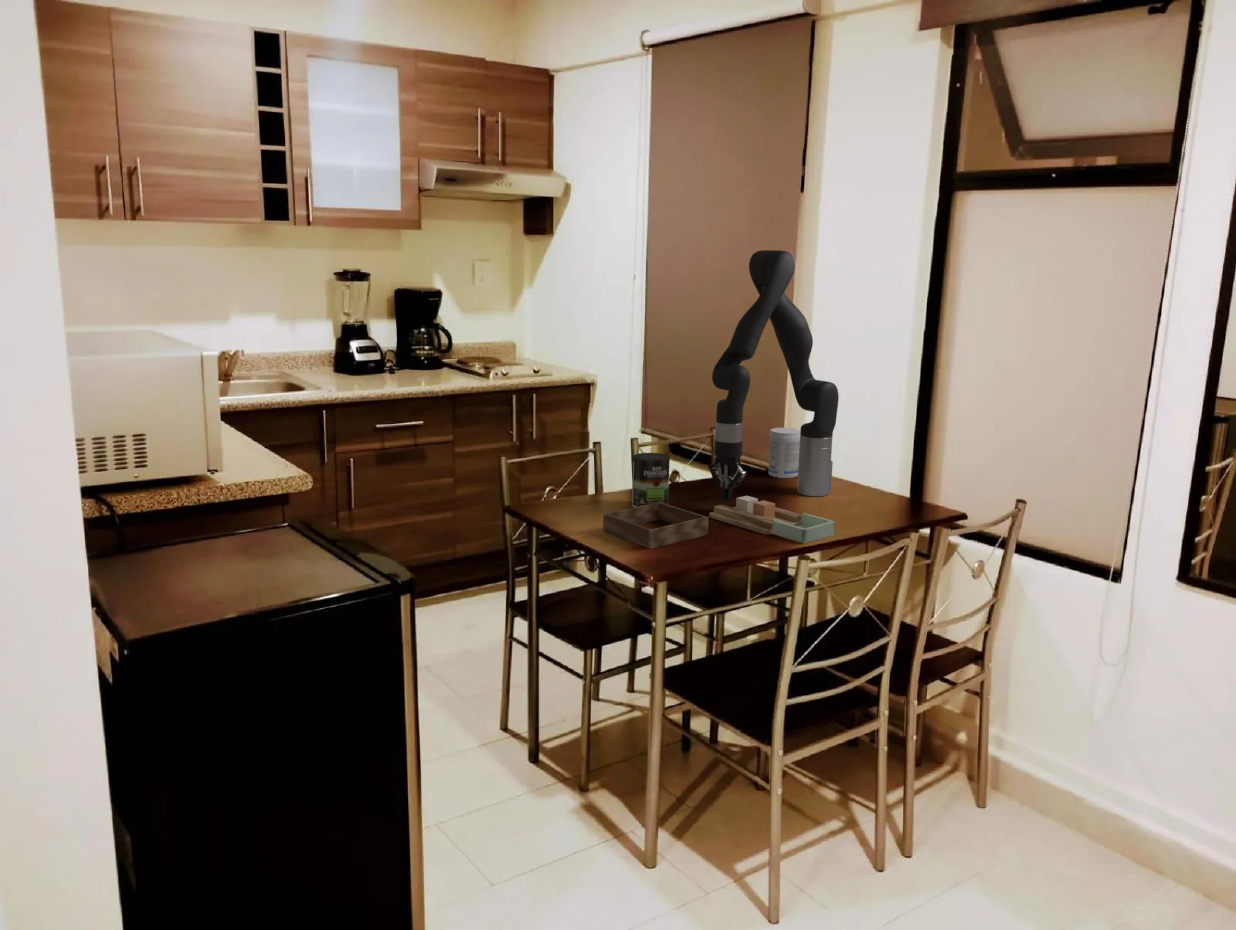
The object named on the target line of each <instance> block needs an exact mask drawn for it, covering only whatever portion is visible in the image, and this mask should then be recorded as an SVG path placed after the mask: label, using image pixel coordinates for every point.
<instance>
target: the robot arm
mask: <svg viewBox="0 0 1236 930" xmlns="http://www.w3.org/2000/svg"><path fill="white" fill-rule="evenodd" d="M795 267H796V263H795V259H794V257H793V255H792V254H791V253H790V252H789V251H786V250H774V249H768V250H767V249H763V250H762V249H761V250H758V251H755V252H753V253H752V255H751V257H750V259H749V263H748V270H749V276H750V278H751V281H752V283H753V285H754V287H755V289H756V291H757V293H758V295H759V296H758V297H757V299H756V301H755V302H754V303H753V304H752V305H751V306H750V308H749V309H748V310H747V311H746V312H745V313H744V314H743V316H742V317H740V320H739V321H738V323H737V325H736V327H735V328H734V332H733V335H732V337H731V339H730V343H729V345H728V347H727V348H726V349H725V351H723V353H722V355H721V356H720V358H719V359H718V361H717V362H716V364H715V365H714V368H713V371H712V374H711V380H712V383H713V386H714V387H716V388H717V389H719V390H724V391H728V392H727V395H726V398H725V399H724V398H723V399H721V400H718V401H717V404H716V415H715V426H714V427H715V428H714V443H713V455H714V456H715V458H714V461H713V462H712V463H710V464H708V466H707V467H708V470H709V472H710V474H711V477H712V479H713V481H714V483H715V485H719V487H720V499H721V501H722V502H725V503H728V502H731V501H732V500H733V488H736V487H739V486H740V485H741V483H742V482H743V480H745V477H747V476H748V471H747V470H743V468H742V467H741V466H742V462H741V458H742V455H743V444H744V443H743V441H744V439H743V438H744V428H743V419H744V418H743V417H744V416H743V414H744V406H745V404H746V403H745V402H746V401H747V400H746V399H747V396H748V393H749V390H750V386H751V375H750V372H749V370H748V368H746V367H745V366H743V365H740V364H741V363H743V362H744V361H747V360H751V359H752V358H753V357H754V356H755V353H756V350H757V348H758V345H759V343H760V340H761V337H762V335H763V333H764V330H765V328H766V325H767V323H768V321H769V320H770V322H771V325H772V328H773V331H774V333H775V337H776V340H777V343H778V345H779V347H780V350H781V352H782V355H783V358H784V360H785V362H786V366H787V370H788V372H789V375H790V380H791V383H792V388H793V392H794V396H795V399H796V402H797V404H798V406H799V407H800V408H801V409H802V410H804V411H807V412H812V413H813V412H814V413H813V418H812V420H811V421H810V422H807V423H803V424H802V425H801V426H800V429H799V430H800V448H799V465H798V476H797V486H796V493H798V494H799V495H803V496H808V497H809V496H810V497H825V496H827V495H829V493H831V491H832V478H833V464H834V463H833V460H832V453H833V452H832V450H833V435H834V429H835V427H836V424H837V414H838V407H839V398H840V397H839V395H840V394H839V390H838V386H836V384H835V383H833V382H831V381H827V380H820V379H815V377H814V375H813V373H812V370H811V368H810V363H809V362H810V361H809V360H810V357H811V353H812V351H813V350H812V349H813V344H814V339H813V335H812V332H811V329H810V326H809V323H808V321H807V318H806V317H805V315H804V314H803V312H802V311H801V310H800V309H799V308H798V306H797V305H796V304H794V303H793V301H792V300H790V298H789V297H788V296H787V294H786V293H785V292H786V290H787V288H788V286H789V284H790V282H791V281H792V278H793V276H794V273H795V269H796V268H795Z"/></svg>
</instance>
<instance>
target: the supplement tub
mask: <svg viewBox="0 0 1236 930" xmlns="http://www.w3.org/2000/svg"><path fill="white" fill-rule="evenodd" d="M800 430H801V429H797V428H793V427H775V428H774V427H773V428H771V429H770V430H769V441H768V442H769V444H768V469H767V470H768V475H769V476H770V477H772V476H773V478H776V477H777V479H794V478H798V465H799V448H800Z"/></svg>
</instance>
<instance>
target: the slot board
mask: <svg viewBox="0 0 1236 930" xmlns="http://www.w3.org/2000/svg"><path fill="white" fill-rule="evenodd" d="M708 517H709V518H711V519H713V520H717V521H721V522H724V523H727V524H731V525H733V526H737V527H740V528H743V529H747V530H750V531H753V532H756V533H759V534H763V535H770V534H773V521H775V520H776V521H780V522H783V523H786V524H790V525H793V526H799V525H802V514H801V513H797V512H794V511H790V510H787V509H783V508H779V507H776V506H775V518H773V519H770V518H766V517H763V516H759V515H756V514H752V513H749V512H746V511H742V510H739V509H736V506H733V507H731V506H728V505H724V504H719V505H714V506H713V511H712V512H711V511H710V512H709V514H708Z"/></svg>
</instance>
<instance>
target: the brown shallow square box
mask: <svg viewBox="0 0 1236 930" xmlns="http://www.w3.org/2000/svg"><path fill="white" fill-rule="evenodd" d="M602 516H603V517H602V519H603V520H602V532H604V533H607V534H610V535H611V536H612V535H613V536H615V537H618V538H620V539H623V540H626V541H629V542H631V543H633V544H637V545H640V546H642V547H645V548H647V549H656V548H660V547H664V546H667V545H671V544H677V543H680V542H684V541H687V540H692V539H696V538H700V537H703V536H707V535H709V521H710V520H709V518H710V517H709V516H706V515H704V514H699V513H697V512H694V511H691V510H686V509H684V508H681V507H677V506H673V505H670V504H669V503H668V504H664V503H661V502H658V503H653V504H648V505H644V506H639V507H630V508H625V509H621V510H620V509H619V510H615V511H612V512H607V513H605V512H604V513H603V514H602ZM655 521H662V522H664V523H665V522H666V523H668V524H667V525H664V526H660V527H655V528H649V527H646V526H643V525H641V524H645V523H646V524H647V523H651V522H655Z"/></svg>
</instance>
